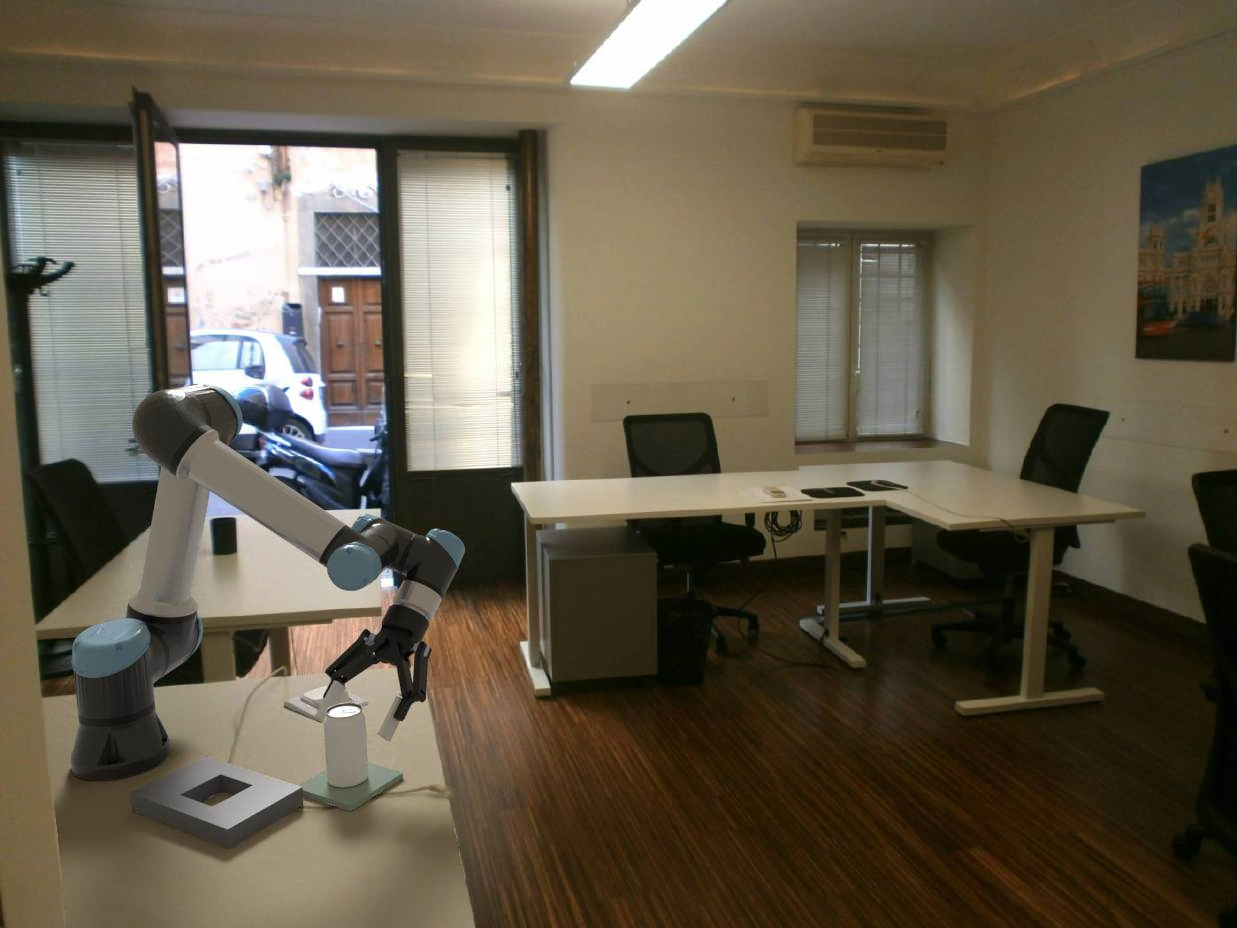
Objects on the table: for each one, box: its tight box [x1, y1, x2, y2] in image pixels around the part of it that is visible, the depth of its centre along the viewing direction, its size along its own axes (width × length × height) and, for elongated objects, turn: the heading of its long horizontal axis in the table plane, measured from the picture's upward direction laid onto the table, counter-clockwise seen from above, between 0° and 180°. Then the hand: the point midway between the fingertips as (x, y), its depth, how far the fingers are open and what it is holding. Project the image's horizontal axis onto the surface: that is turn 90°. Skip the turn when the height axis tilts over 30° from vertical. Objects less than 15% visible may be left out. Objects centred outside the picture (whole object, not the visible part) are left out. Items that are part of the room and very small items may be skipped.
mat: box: [298, 762, 404, 813], centre depth 157 cm, size 12×12×1 cm
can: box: [323, 703, 369, 788], centre depth 156 cm, size 6×6×12 cm
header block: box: [129, 756, 304, 849], centre depth 150 cm, size 22×14×3 cm, turn 61°
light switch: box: [283, 684, 370, 723], centre depth 189 cm, size 11×4×13 cm
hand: (351, 729), depth 156 cm, fingers open, 13 cm apart
